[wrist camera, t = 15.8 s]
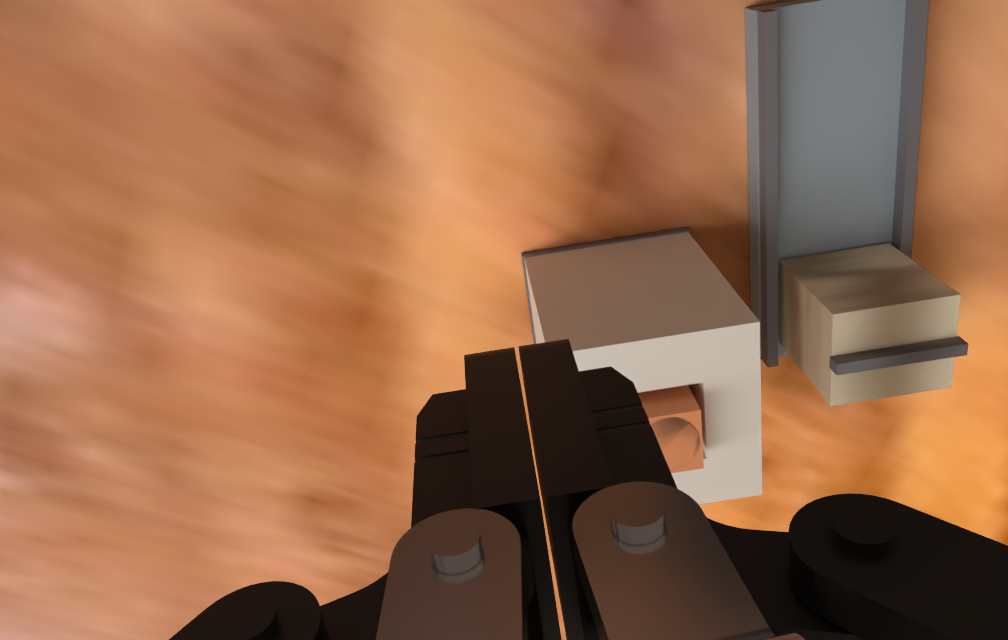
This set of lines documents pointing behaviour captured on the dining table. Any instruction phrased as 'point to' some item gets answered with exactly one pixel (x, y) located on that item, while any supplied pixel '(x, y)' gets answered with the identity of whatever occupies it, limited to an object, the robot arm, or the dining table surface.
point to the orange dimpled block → (676, 426)
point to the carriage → (868, 324)
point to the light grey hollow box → (662, 339)
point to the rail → (829, 134)
